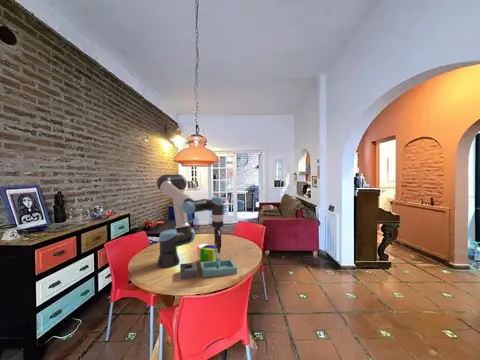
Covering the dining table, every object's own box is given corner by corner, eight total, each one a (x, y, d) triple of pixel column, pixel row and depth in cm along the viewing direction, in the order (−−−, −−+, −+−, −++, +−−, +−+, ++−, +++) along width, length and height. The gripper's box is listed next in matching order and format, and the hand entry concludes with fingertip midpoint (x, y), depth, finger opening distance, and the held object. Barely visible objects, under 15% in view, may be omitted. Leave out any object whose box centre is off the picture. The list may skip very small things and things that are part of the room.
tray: (200, 267, 159) (200, 262, 159) (231, 264, 165) (231, 259, 165) (202, 277, 144) (202, 271, 144) (236, 273, 150) (236, 267, 150)
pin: (213, 266, 156) (213, 242, 156) (220, 265, 157) (220, 242, 157) (215, 269, 152) (214, 244, 151) (222, 268, 153) (221, 244, 153)
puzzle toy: (218, 259, 175) (218, 246, 175) (212, 264, 166) (212, 250, 166) (206, 258, 179) (206, 244, 178) (200, 262, 169) (200, 248, 169)
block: (180, 271, 153) (180, 264, 153) (195, 270, 156) (195, 262, 156) (180, 279, 142) (180, 271, 142) (197, 277, 144) (197, 269, 144)
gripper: (210, 218, 161) (210, 252, 162) (213, 223, 144) (214, 261, 145) (220, 218, 163) (221, 251, 164) (225, 222, 146) (226, 260, 147)
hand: (217, 255), depth 154 cm, fingers closed on pin, 5 cm apart
